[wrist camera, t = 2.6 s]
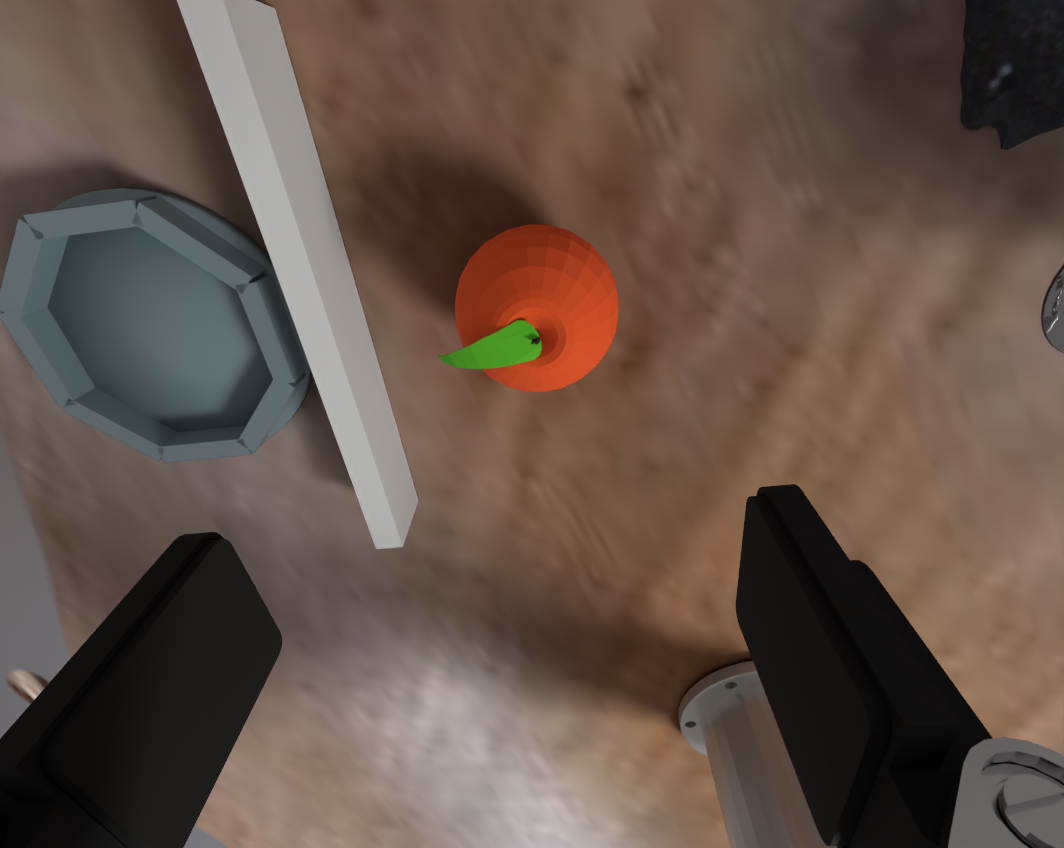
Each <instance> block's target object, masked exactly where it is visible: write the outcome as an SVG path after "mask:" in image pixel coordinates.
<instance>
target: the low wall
mask: <svg viewBox="0 0 1064 848" xmlns="http://www.w3.org/2000/svg"><path fill="white" fill-rule="evenodd" d="M177 2H178V5H179V8H180V11H181V13H182V16H183V19H184V22H185V24H186V27H187V30H188V33H189V35H190V38H191V41H192V44H193V46H194V49H195V52H196V55H197V57H198V60H199V63H200V66H201V68H202V71H203V74H204V77H205V79H206V82H207V85H208V88H209V90H210V93H211V96H212V99H213V101H214V104H215V107H216V110H217V112H218V115H219V118H220V121H221V123H222V126H223V129H224V132H225V134H226V137H227V140H228V143H229V145H230V148H231V151H232V154H233V156H234V159H235V162H236V165H237V167H238V170H239V173H240V176H241V178H242V181H243V184H244V187H245V189H246V192H247V195H248V198H249V200H250V203H251V206H252V209H253V211H254V214H255V217H256V220H257V222H258V225H259V228H260V231H261V233H262V236H263V239H264V242H265V244H266V247H267V250H268V253H269V256H270V258H271V261H272V264H273V267H274V269H275V272H276V275H277V278H278V280H279V283H280V286H281V289H282V291H283V294H284V297H285V300H286V302H287V305H288V308H289V311H290V313H291V316H292V319H293V322H294V324H295V327H296V330H297V333H298V335H299V338H300V341H301V344H302V346H303V349H304V352H305V355H306V357H307V360H308V363H309V366H310V368H311V371H312V374H313V377H314V379H315V382H316V385H317V388H318V390H319V393H320V396H321V399H322V401H323V404H324V407H325V410H326V412H327V415H328V418H329V421H330V423H331V426H332V429H333V432H334V434H335V437H336V440H337V443H338V445H339V448H340V451H341V454H342V456H343V459H344V462H345V465H346V467H347V470H348V473H349V476H350V478H351V481H352V484H353V487H354V489H355V492H356V495H357V498H358V500H359V503H360V506H361V509H362V511H363V514H364V517H365V520H366V522H367V525H368V528H369V531H370V533H371V536H372V539H373V542H374V544H375V547H376V549H384V548H398V547H403V545H404V542H405V539H406V536H407V533H408V530H409V527H410V524H411V521H412V519H413V516H414V513H415V510H416V507H417V504H418V498H417V494H416V491H415V487H414V484H413V480H412V477H411V474H410V470H409V467H408V463H407V460H406V456H405V453H404V450H403V446H402V443H401V439H400V436H399V432H398V429H397V425H396V422H395V419H394V415H393V412H392V408H391V405H390V401H389V398H388V395H387V391H386V388H385V384H384V381H383V377H382V374H381V371H380V367H379V364H378V360H377V357H376V353H375V350H374V347H373V343H372V340H371V336H370V333H369V329H368V326H367V322H366V319H365V316H364V312H363V309H362V305H361V302H360V298H359V295H358V292H357V288H356V285H355V281H354V278H353V274H352V271H351V268H350V264H349V261H348V257H347V254H346V250H345V247H344V243H343V240H342V237H341V233H340V230H339V226H338V223H337V219H336V216H335V213H334V209H333V206H332V202H331V199H330V195H329V192H328V189H327V185H326V182H325V178H324V175H323V171H322V168H321V165H320V161H319V158H318V154H317V151H316V147H315V144H314V140H313V137H312V134H311V130H310V127H309V123H308V120H307V116H306V113H305V110H304V106H303V103H302V99H301V96H300V92H299V89H298V86H297V82H296V79H295V75H294V72H293V68H292V65H291V61H290V58H289V55H288V51H287V48H286V44H285V41H284V37H283V34H282V31H281V27H280V24H279V20H278V17H277V13H276V10H275V8H273V7H270V6H268V5H265V4H263V3H261V2H258V1H256V0H177Z"/></svg>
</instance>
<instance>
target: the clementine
mask: <svg viewBox="0 0 1064 848" xmlns="http://www.w3.org/2000/svg"><path fill="white" fill-rule="evenodd" d="M618 304H619V301H618V295H617V290H616V284H615V280H614V278H613V276H612V274H611V272H610V270H609V267H608V265H607V263H606V261H605V260H604V259H603V258H602V257H601V256H600V254H599V253H598V252H597V251H596V250H595V249H594V248H593V247H592V245H591V244H589V243H588V242H586V241H584V240H583V239H581V238H580V237H578V236H577V235H575V234H574V233H572V232H570V231H568V230H565V229H561V228H558V227H555V226H551V225H531V224H527V225H524V226H520V227H516V228H512V229H509V230H506V231H504V232H502V233H500V234H499V235H497V236H495V237H494V238H492V239H490V240H489V241H487V242H485V243H484V244H483V245H482V246H481V247H480V248H479V249H478V250H477V252H476V253H475V254H474V255H473V256H472V257H471V258H470V259H469V261H468V263H467V265H466V267H465V269H464V271H463V273H462V274H461V276H460V279H459V284H458V288H457V293H456V298H455V315H456V327H457V330H458V333H459V336H460V339H461V342H462V345H463V347H464V348H463V349H460V350H458V351H456V352H453V353H451V354H447V355H444V356H441V355H439V354H437V355H438V356H439V357H440V358H441V360H442V361H443V362H444V363H446V364H448V365H451V366H454V367H458V368H468V369H482V370H483V371H484V372H485V373H486V374H487V375H489V376H490V377H491V378H492V379H494V380H496V381H498V382H500V383H502V384H503V385H505V386H507V387H510V388H514V389H518V390H522V391H527V392H546V391H550V390H555V389H559V388H563V387H565V386H567V385H569V384H571V383H573V382H575V381H577V380H579V379H581V378H582V377H583V376H584V375H586V374H587V373H588V372H589V371H590V370H592V369H593V368H594V367H595V366H596V365H597V364H598V363H599V362H600V360H601V359H602V358H603V356H604V355H605V353H606V352H607V351H608V349H609V347H610V345H611V342H612V339H613V337H614V334H615V331H616V327H617V317H618Z"/></svg>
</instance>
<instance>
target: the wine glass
mask: <svg viewBox="0 0 1064 848" xmlns="http://www.w3.org/2000/svg"><path fill="white" fill-rule="evenodd" d="M1042 323H1043V330H1044V332H1045V335H1046V338H1047V339H1048V341H1049V342H1050V343H1051V345H1052V346H1053V347H1055V348H1056V349H1057V350H1059V351H1060V352H1062V353H1064V267H1063V268H1062V270H1061V271H1060V273H1059V274H1058V276H1057V277H1056V278H1055V280H1054V282H1053V284H1052V286H1051V288H1050V290H1049V292H1048V294H1047V297H1046V300H1045V303H1044V307H1043V314H1042Z"/></svg>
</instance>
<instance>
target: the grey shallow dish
mask: <svg viewBox="0 0 1064 848" xmlns="http://www.w3.org/2000/svg"><path fill="white" fill-rule="evenodd" d="M23 216H24V218H20V219H18V223H17V227H16V231H15V235H14V239H13V242H12V246H11V250H10V254H9V258H8V262H7V266H6V270H5V274H4V278H3V281H2V285H1V289H0V310H1V311H2V312H1V313H0V319H1V320H2V322H3V323H4V325H5V326H6V328H7V330H8V331H9V333H10V334H11V336H12V337H13V339H14V340H15V342H16V343H17V345H18V346H19V348H20V349H21V351H22V353H23V354H24V356H25V357H26V359H27V360H28V362H29V363H30V365H31V366H32V368H33V369H34V371H35V372H36V374H37V376H38V377H39V379H40V380H41V382H42V383H43V385H44V386H45V388H46V389H47V391H48V392H49V394H50V395H51V397H52V399H53V400H54V402H55V403H56V405H57V406H58V407H61V406H65V407H64V410H63V412H65V413H67V414H69V415H71V416H73V417H75V418H77V419H79V420H81V421H83V422H84V423H86V424H88V425H90V426H92V427H94V428H96V429H98V430H100V431H102V432H104V433H105V434H107V435H109V436H111V437H113V438H115V439H117V440H119V441H121V442H123V443H125V444H126V445H128V446H130V447H132V448H134V449H136V450H138V451H140V452H142V453H144V454H146V455H147V456H149V457H151V458H153V459H155V460H157V461H160V460H161V459H163V461H164V463H166V462H177V461H188V460H199V459H210V458H220V457H231V456H242V455H251V454H252V453H253V452H256V450H257V449H258V448H259V447H260V446H261V445H262V444H263V442H264V441H265V440H266V439H268V438H269V437H271V436H272V435H274V434H275V433H277V432H278V431H279V430H280V429H281V428H282V427H283V426H284V425H285V424H286V423H287V422H288V421H289V420H290V419H291V418H292V417H293V415H294V414H295V413H296V412H297V410H298V409H299V408H300V406H301V405H302V403H303V401H304V399H305V397H306V395H307V393H308V390H309V387H310V383H311V380H312V371H311V368H310V366H309V363H308V360H307V357H306V355H305V352H304V349H303V346H302V344H301V341H300V338H299V335H298V333H297V330H296V327H295V324H294V322H293V319H292V316H291V313H290V311H289V308H288V305H287V302H286V300H285V297H284V294H283V291H282V289H281V286H280V283H279V280H278V278H277V275H276V272H275V269H274V267H273V264H272V261H271V258H270V257H269V256H268V255H267V253H266V252H265V251H264V250H263V249H262V248H261V247H260V246H259V245H257V244H256V243H255V242H254V241H253V240H252V239H251V238H250V237H249V236H248V235H247V234H245V233H244V232H243V231H241V230H240V229H239V228H237V227H236V226H235V225H233V224H232V223H231V222H229V221H228V220H226V219H225V218H223V217H221V216H220V215H218V214H216V213H215V212H213V211H212V210H210V209H208V208H205V207H203V206H201V205H199V204H197V203H195V202H193V201H191V200H188V199H185V198H182V197H179V196H176V195H173V194H171V193H166V192H162V191H157V190H152V189H145V188H133V187H125V188H110V189H103V190H97V191H92V192H88V193H84V194H79V195H77V196H74V197H72V198H70V199H67V200H65V201H63V202H61V203H60V204H58V205H57V206H55V207H54V208H52V209H51V210H48V211H43V212H37V213H31V214H26V215H23Z"/></svg>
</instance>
